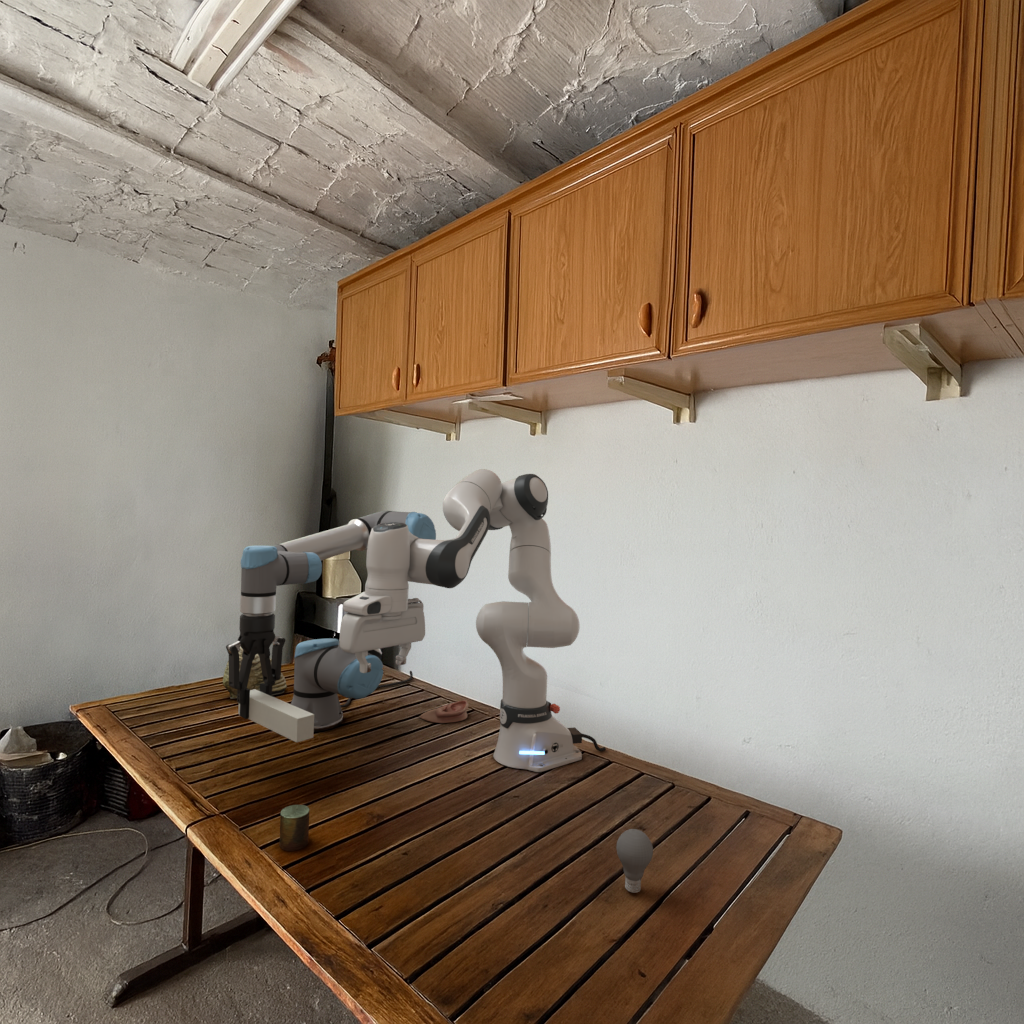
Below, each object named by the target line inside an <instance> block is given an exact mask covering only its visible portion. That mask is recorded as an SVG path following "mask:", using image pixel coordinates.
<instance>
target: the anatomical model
mask: <svg viewBox="0 0 1024 1024" xmlns="http://www.w3.org/2000/svg"><path fill="white" fill-rule="evenodd" d="M468 708H469V702H468V700H465V699H462V700H459V701H458V700H457V701H454V702H451V703H448V704H446V705H443V706H439V707H436V708H433V709H430V710H427V711H425V712H423V713H421V714H420V715H419V718H420V719H421V720H425V721H427V722H431V723H436V724H445V723H447V724H449V723H457V722H461V721H464V720H466V719H467V718H468V712H467V711H468Z"/></svg>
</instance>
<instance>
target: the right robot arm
mask: <svg viewBox="0 0 1024 1024" xmlns="http://www.w3.org/2000/svg"><path fill="white" fill-rule="evenodd" d="M548 504H549V490H548V487H547V485H546V483H545V482H544V480H543V479H542V478H541V477H540V476H538V475H537V474H535V473H526V474H525V473H524V474H522V475H519V476H517V477H515V478H512V479H510V480H507V481H505V482H502V480H501V479H500V477H499V476H498V474H496V473H495V472H494V471H492V470H491V469H487V468H481V469H477V470H475V471H473V472H471V473H469V474H468V475H466V476H464V477H463V478H462V479H461V480H459V481H458V482H457V483H456V484H455V485H454V486H453V487H452V488H451V489H450V490H449V491H448V492H447V493H446V495H445V496H444V499H443V501H442V512H443V516H444V518H445V520H446V521H447V523H448V524H449V525H450V527H451V528H453V529H454V530H456V531H458V533H457V535H456V536H455V537H453V538H449V539H436V540H432V539H422V538H418V537H416V536H414V535H413V534H412V533H410V532H409V529H408V526H407V525H406V524H404V523H399V522H390V523H381V524H378V525H376V526H374V527H373V528H372V530H371V532H370V536H369V540H368V547H367V549H366V558H365V559H366V561H365V564H366V565H365V566H366V571H367V578H366V581H365V585H364V591H363V592H360V593H359V594H357V595H354V596H353V597H351V598H349V599H347V600H345V601H344V602H343V603H342V606H343V607H342V609H343V612H345V614H344V615H343V616H342V619H341V621H340V629H339V639H338V640H339V644H340V647H341V649H342V650H343V651H344V652H347V653H352V654H353V653H355V656H356V658H357V660H358V661H359V663H360V672H361V673H367V672H370V671H371V663H368V662H367V660H366V658H365V656H368V651H369V650H375V649H380V650H381V649H384V648H385V649H386V648H391V647H397V646H399V647H400V651H399V653H398V654H397V655H395V665H397V666H403V665H406V664H407V657H408V655H409V653H410V651H411V649H412V643H418V642H422V641H423V640H424V639H425V637H426V620H425V617H426V616H425V612H424V602H423V601H422V600H420V599H419V598H418V597H413V598H409V588H410V587H409V585H410V583H416V584H423V585H433V586H437V587H441V588H445V589H455V587H458V586H459V585H460V584H461V583H462V582H463V581H464V580H465V579H466V577H467V576H468V574H469V571H470V568H471V564H472V561H473V559H474V557H476V556H475V555H476V554H477V552H478V550H479V548H480V546H481V545H482V543H483V541H484V539H485V537H486V536H487V534H488V532H489V531H498V530H501V529H503V528H505V527H509V529H510V533H511V538H510V543H509V556H508V572H507V578H508V579H507V580H508V582H509V584H510V585H511V587H512V588H513V589H514V590H516V591H517V592H519V593H521V594H523V595H525V596H526V597H527V598H528V599H529V600H530V601H528V602H524V601H505V600H504V601H503V600H502V601H495V602H490V603H489V602H488V603H485V604H484V605H482V607H481V608H480V609H479V611H478V613H477V615H476V619H475V628H476V632H477V635H478V637H479V638H480V639H481V640H482V642H484V644H486V645H487V646H488V647H490V649H491V651H493V653H494V654H495V656H496V658H497V660H498V662H499V665H500V668H501V675H502V677H501V678H502V696H501V697H502V698H501V700H500V706H499V724H500V725H499V731H498V737H497V741H496V744H495V745H496V746H495V749H494V751H493V754H492V757H493V759H494V760H495V762H496V763H499V764H501V765H502V766H505V767H509V768H513V769H518V770H519V769H521V770H526V771H527V770H528V771H531V772H533V773H542V772H546V771H549V770H552V769H556V768H559V767H562V766H566V765H568V764H571V763H575V762H578V761H581V760H582V759H583V753H582V752H581V750H580V749H579V747H577V746H576V745H578V744H583V738H585V739H587V740H589V741H590V742H592V744H593V746H594V748H595V750H596V751H598V752H601V753H603V752H606V751H607V748H606V747H605V746H604V747H600V746H599V745H598V742H597V740H596V739H595V738H594V737H592V736H591V735H588V734H585V733H582V732H581V731H579V730H578V729H577V728H576V727H566V725H564V724H563V723H562V722H561V721H560V720H559V719H557V718H556V717H554V716H553V714H552V712H553V713H554V714H559V713H560V711H561V707H560V706H559V705H558V704H556V703H552V702H550V701H548V700H547V697H548V673H547V670H546V669H545V667H544V666H543V665H542V664H541V663H539V662H538V661H537V660H535V659H532V658H531V657H529V656H527V654H526V653H525V652H524V649H525V648H542V649H543V648H545V649H557V648H564V647H568V646H572V644H574V643H575V641H576V640H577V638H578V636H579V633H580V628H581V627H580V620H579V616H578V614H577V613H576V611H575V610H574V608H572V607H571V606H570V605H568V604H567V603H566V602H565V601H564V599H562V598H561V597H560V596H559V593H558V592H557V591H556V588H555V586H554V583H553V577H552V545H551V536H550V530H549V526H548V524H547V522H546V521H545V519H543V518H544V517H545V515H546V514H547V509H548ZM409 582H410V583H409ZM575 744H576V745H575Z"/></svg>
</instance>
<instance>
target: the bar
mask: <svg viewBox="0 0 1024 1024" xmlns="http://www.w3.org/2000/svg"><path fill="white" fill-rule="evenodd" d="M237 710H238V711H237V714H238V715H239V716H240V704H239V703H238V709H237ZM247 720H249V721H251V722H253V723H255V724H257V725H259V726H262V727H264V728H266V729H268V730H270V731H272V732H274V733H276V734H278V735H280V736H282V737H284V738H286V739H288V740H290V741H292V742H294V743H299V742H300V743H301V742H303V741H307V740H310V739H314V733H315V732H314V714H312V713H310V712H308V711H305V710H303V709H300V708H298V707H296V706H293V705H291V703H289V702H286V701H284V700H283V699H282V700H281V699H279V698H277V697H275V696H273V695H272V696H270V695H268V694H265V693H263V692H260V691H258V690H256V689H254V690H250V701H249V718H248V719H247Z"/></svg>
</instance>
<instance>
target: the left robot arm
mask: <svg viewBox="0 0 1024 1024" xmlns="http://www.w3.org/2000/svg"><path fill="white" fill-rule="evenodd" d="M390 522H399V523H404V524H406V525H407V526H408V529H409V532H410V533H412V534H413V535H414V536H416V537H418V538H422V539H432V540H437V532H436V531H437V530H436V527H435V524H434V522H433V520H432V518H431V517H430V516H428V515H427V514H425V513H422V512H416V511H397V510H396V511H395V510H383V511H377V512H374V513H370V514H368V515H364V516H360V517H357V518H354V519H350V521H348V523H347V524H344V525H341V526H338V527H334V528H330V529H328V530H323V531H320V532H316V533H313V534H309V535H306V536H303V537H299V538H296V539H292V540H288V541H285V542H282V543H278V544H274V545H247V546H245V547H244V549H243V550H242V555H241V558H240V570H241V572H240V573H241V577H240V603H239V606H240V607H239V611H240V613H241V614H240V615H239V629H238V630H239V635H238V638H237V641H235V642H233V643H232V644H231V643H227V644H226V646H225V649H226V651H227V654H228V660H229V686H230V687H232V688H234V689H237V698H236V703H237V704H238V705H239V704H240V715H239V717H241V718H243V719H245V720H249V719H248V718H249V701H250V689H247V685H248V680H249V676H250V671H251V667H252V662H253V660H254V658H255V655H256V654H258V655H259V657H260V664H261V670H262V676H263V681H264V683H260V692H263V693H265V694H268V695H270V696H272V697H273V695H272V685H274V684H275V681H276V680H279V679H280V678H281V673H282V664H283V663H282V662H283V649H284V645H285V643H286V638H285V637H282V636H276V634H275V631H274V630H275V628H276V624H275V623H276V614H275V612H276V607H277V600H276V599H277V587H280V586H285V585H299V584H300V585H301V584H303V585H306V584H309V583H314V582H316V581H318V580H319V578H320V577H321V575H322V572H323V570H322V569H323V563H322V561H324V560H327V559H330V558H333V557H336V556H339V555H342V554H345V553H349V552H352V551H355V550H356V551H359V552H363V551H367V547H368V540H369V536H370V532H371V530H372V528H373V527H374V526H376V525H378V524H381V523H390ZM339 640H340V639H338V638H331V637H329V638H317V639H316V638H315V639H308V640H304V641H301V642H299V643H298V644H297V645H296V646H295V650H294V651H295V652H294V656H293V658H294V670H293V671H294V672H293V695H292V696H293V697H292V699H291V702H290V704H291V705H293V706H296V707H298V708H300V709H303V710H305V711H308V712H310V713H312V714H314V733H316V732H325V731H329V730H332V729H335V728H337V727H339V726H340V725H342V723H343V722H344V714H343V709H342V708H346V707H348V706H349V705H350V703H351V700H352V699H355V700H360V699H365V698H367V697H368V696H369V695H372V694H373V693H374V692H375V691H376V690H377V689H383V688H388V687H393V686H398V685H402V684H406V683H409V682H410V681H411V680H413V677H414V673H413V671H412V670H409V678H406V679H405V680H404V679H403V680H400V681H396V682H395V681H394V682H391V683H385V684H381V682H382V679H383V676H384V669H383V668H384V663H383V661H382V660H381V658H382V654H383V652H382V649H381V648H380V649H375V650H369V651H368V656H365V658H366V660H367V662H368V663H371V671H370V672H367V673H361V672H360V663H359V661H358V660H357V658H356V656H355V653H353V654H352V653H347V652H344V651H343V650H342V649H341V647H340V644H339ZM271 645H272V649H270V647H271ZM240 647H241V648H242V649H243V653H242V663H241V667H240V672H239V653H238V652H239V651H240ZM270 658H271V659H272V660H271V662H270ZM339 695H340V696H342V697H345V698H347V701H346V703H344V704H343V703H342V704H341V702H340V699H339Z"/></svg>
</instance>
